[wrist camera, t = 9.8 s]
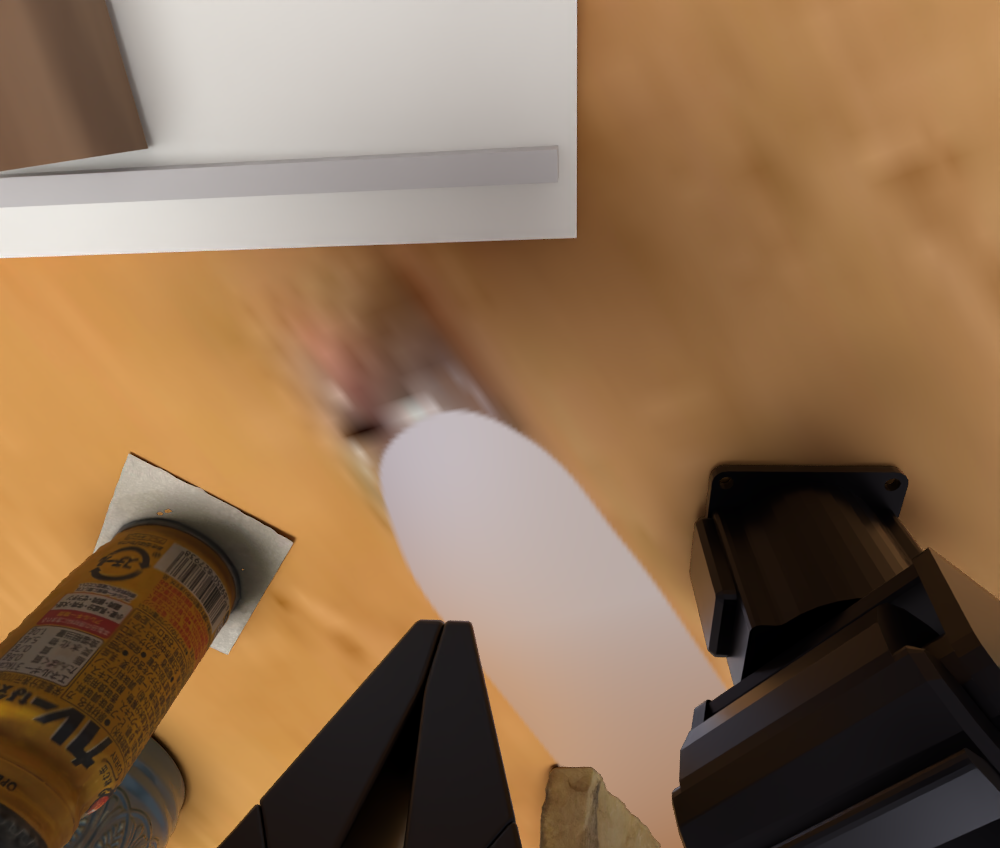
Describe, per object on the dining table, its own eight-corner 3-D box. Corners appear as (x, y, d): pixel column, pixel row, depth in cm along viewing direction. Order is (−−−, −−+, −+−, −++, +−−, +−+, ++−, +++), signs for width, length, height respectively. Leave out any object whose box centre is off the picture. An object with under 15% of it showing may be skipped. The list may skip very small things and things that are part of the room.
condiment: (83, 580, 29) (-196, 865, 18) (131, 450, 25) (-187, 715, 15) (230, 651, 30) (47, 954, 20) (296, 537, 26) (113, 838, 16)
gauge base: (577, -275, 14) (580, -489, 9) (576, 230, 19) (578, 286, 14) (-298, -164, 17) (-695, -275, 11) (-91, 255, 22) (-300, 309, 17)
